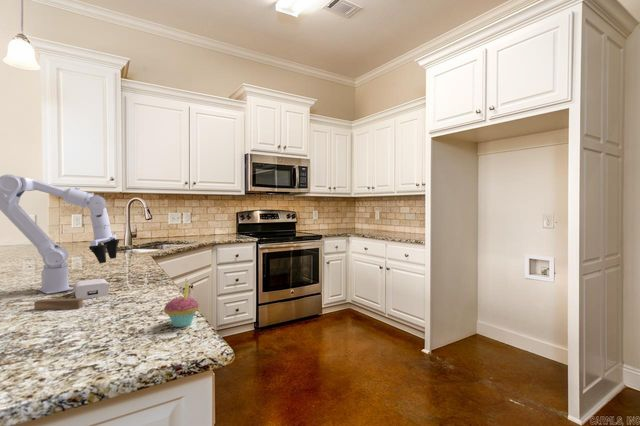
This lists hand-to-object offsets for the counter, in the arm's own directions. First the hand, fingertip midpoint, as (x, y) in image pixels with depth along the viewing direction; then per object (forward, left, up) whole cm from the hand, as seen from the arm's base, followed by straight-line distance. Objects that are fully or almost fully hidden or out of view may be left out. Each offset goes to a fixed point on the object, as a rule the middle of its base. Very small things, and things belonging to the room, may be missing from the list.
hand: (108, 260), depth 131 cm
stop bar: (+19, -22, -10) cm, 31 cm away
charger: (+7, -9, -10) cm, 15 cm away
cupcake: (+62, -7, -10) cm, 63 cm away
